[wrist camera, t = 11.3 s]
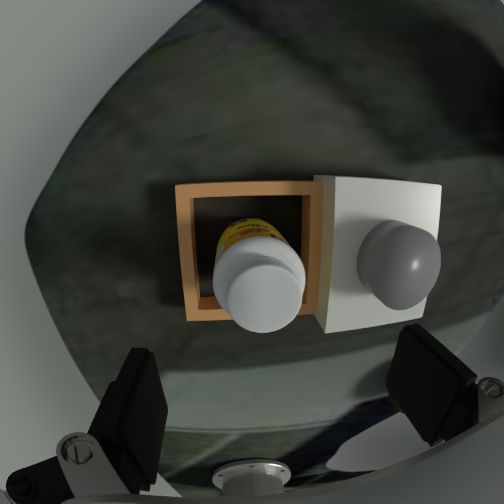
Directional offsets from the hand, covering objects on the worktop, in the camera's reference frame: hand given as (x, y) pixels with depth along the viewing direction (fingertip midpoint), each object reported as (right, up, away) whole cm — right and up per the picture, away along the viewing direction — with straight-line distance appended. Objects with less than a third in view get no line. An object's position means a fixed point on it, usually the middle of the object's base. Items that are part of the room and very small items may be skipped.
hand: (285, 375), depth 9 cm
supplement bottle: (-1, +5, +15) cm, 16 cm away
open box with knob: (+4, +5, +15) cm, 16 cm away
